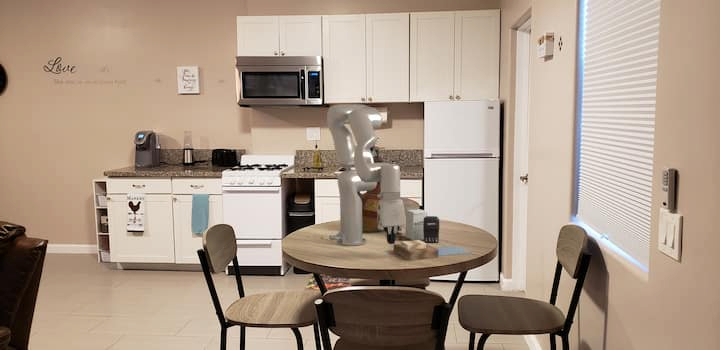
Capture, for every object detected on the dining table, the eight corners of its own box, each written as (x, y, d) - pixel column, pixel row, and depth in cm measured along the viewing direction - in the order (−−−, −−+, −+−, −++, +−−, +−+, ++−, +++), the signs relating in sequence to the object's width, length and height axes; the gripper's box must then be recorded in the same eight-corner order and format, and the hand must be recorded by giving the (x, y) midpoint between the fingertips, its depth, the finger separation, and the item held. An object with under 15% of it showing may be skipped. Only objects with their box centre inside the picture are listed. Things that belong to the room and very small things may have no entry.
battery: (423, 243, 237) (423, 217, 235) (422, 241, 240) (423, 215, 239) (439, 243, 236) (440, 217, 235) (438, 241, 240) (439, 215, 239)
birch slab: (407, 249, 213) (407, 244, 212) (400, 246, 218) (400, 241, 218) (425, 248, 216) (425, 243, 215) (418, 244, 221) (418, 239, 221)
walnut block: (410, 260, 208) (410, 252, 208) (393, 251, 222) (393, 244, 222) (438, 257, 213) (438, 249, 213) (420, 248, 227) (420, 241, 226)
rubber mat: (437, 256, 214) (437, 255, 214) (422, 249, 226) (422, 248, 226) (471, 252, 220) (471, 251, 220) (455, 246, 231) (455, 245, 231)
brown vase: (389, 235, 253) (389, 170, 250) (346, 234, 256) (345, 170, 253) (393, 226, 273) (393, 166, 269) (353, 225, 276) (353, 166, 273)
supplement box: (412, 240, 242) (412, 212, 241) (405, 237, 249) (405, 209, 248) (427, 239, 245) (427, 211, 243) (419, 235, 252) (419, 208, 250)
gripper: (376, 198, 205) (377, 247, 206) (412, 196, 210) (413, 243, 212) (368, 196, 212) (369, 243, 213) (403, 194, 217) (404, 240, 219)
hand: (391, 243), depth 212 cm, fingers closed
